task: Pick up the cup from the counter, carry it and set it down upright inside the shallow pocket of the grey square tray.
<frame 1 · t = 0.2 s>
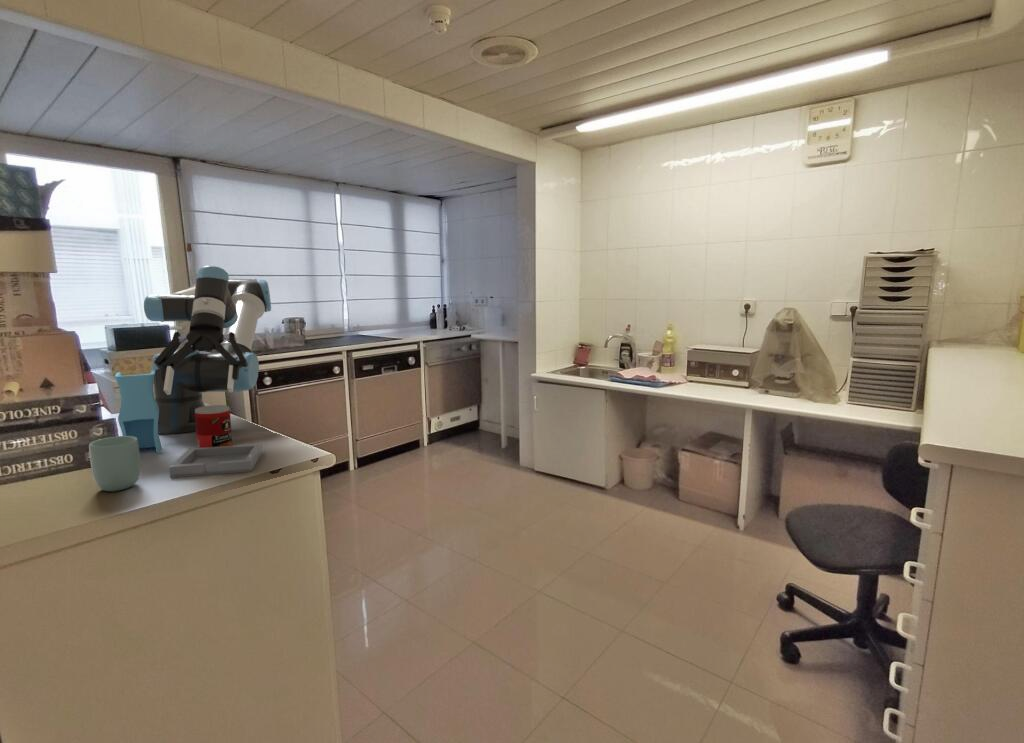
hand: (199, 391, 123), 16 cm above the table, tool tilted 35°, fingers open, 13 cm apart
blue wavy stand: (142, 451, 126), on the table
canned food: (215, 450, 129), on the table
cup: (118, 488, 102), on the table
grey square tray: (219, 464, 117), on the table
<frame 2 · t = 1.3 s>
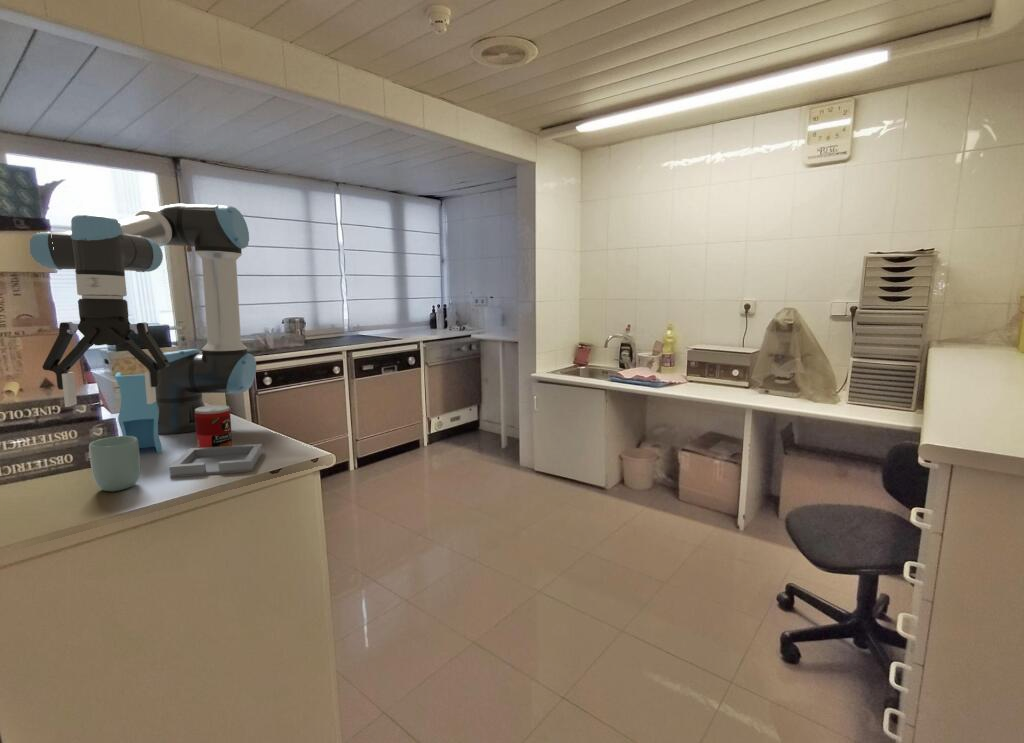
hand: (112, 404, 100), 18 cm above the table, tool pointing down, fingers open, 13 cm apart
nothing on the table moved.
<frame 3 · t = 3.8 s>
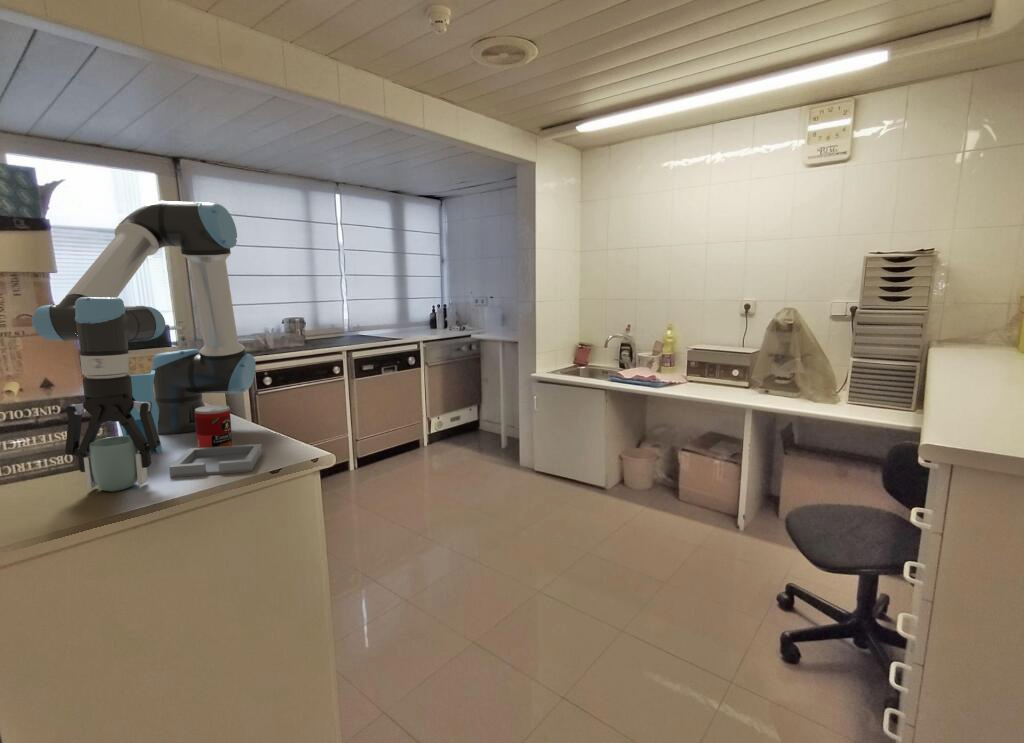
hand: (118, 484, 102), 1 cm above the table, tool pointing down, fingers closed on cup, 8 cm apart
cup: (118, 488, 102), on the table, touching gripper
everything else where it was.
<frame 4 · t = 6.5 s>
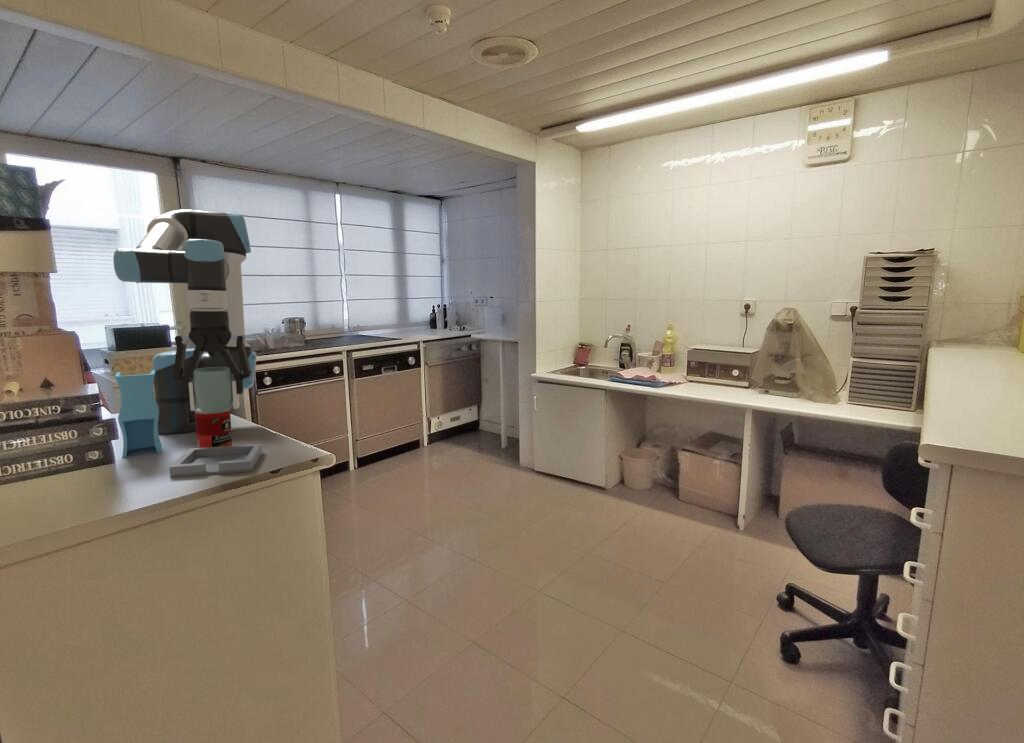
hand: (215, 408, 115), 14 cm above the table, tool pointing down, fingers closed on cup, 8 cm apart
cup: (216, 412, 116), point 13 cm above the table, touching gripper
everything else where it was.
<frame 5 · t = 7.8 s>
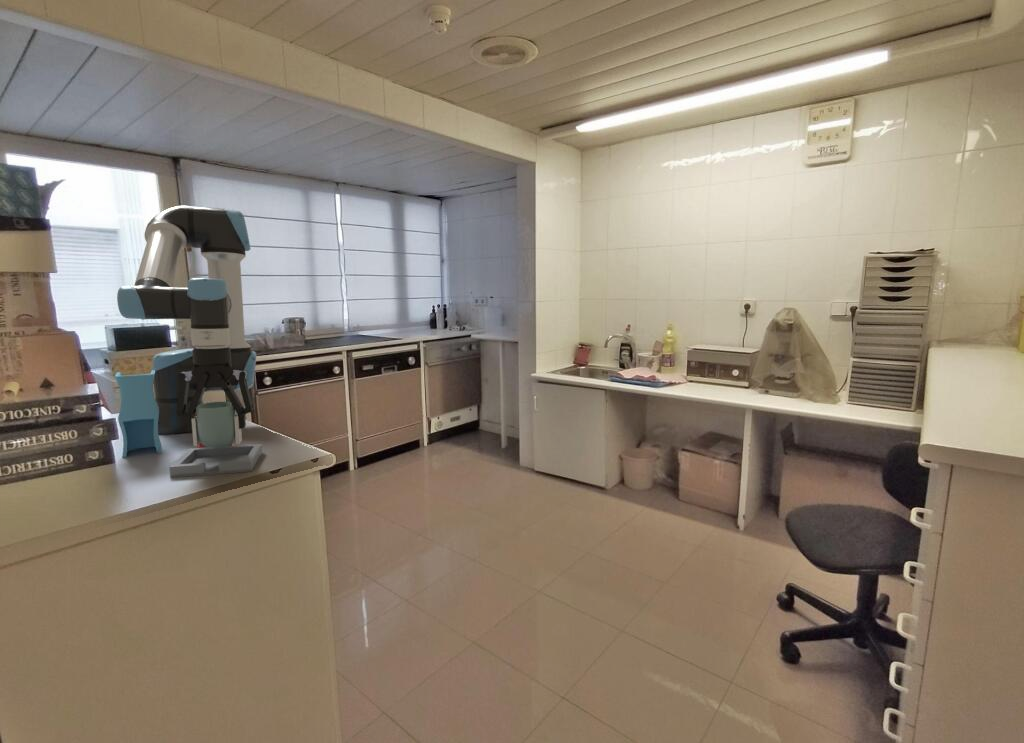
hand: (218, 443, 117), 5 cm above the table, tool pointing down, fingers closed on cup, 8 cm apart
cup: (218, 447, 117), point 4 cm above the table, touching gripper
everything else where it was.
when the fingers open (3 cm above the table, at t = 9.1 s): cup drops 2 cm, resting on grey square tray.
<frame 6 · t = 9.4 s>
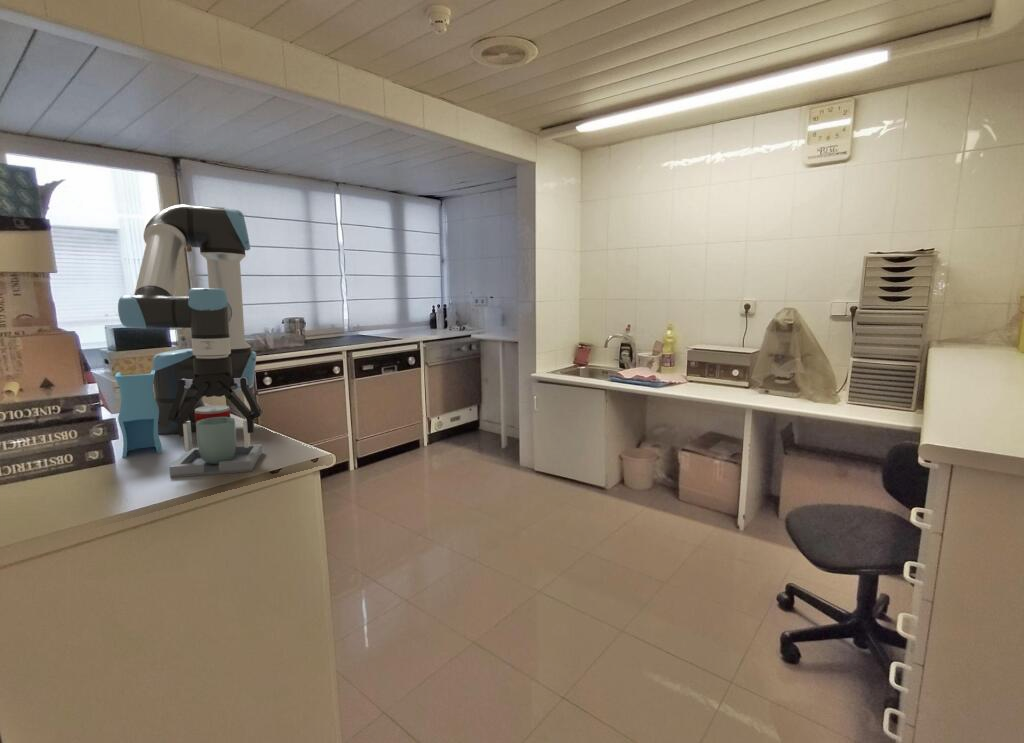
hand: (218, 448, 117), 4 cm above the table, tool pointing down, fingers open, 11 cm apart
cup: (218, 462, 117), resting on grey square tray
everything else where it was.
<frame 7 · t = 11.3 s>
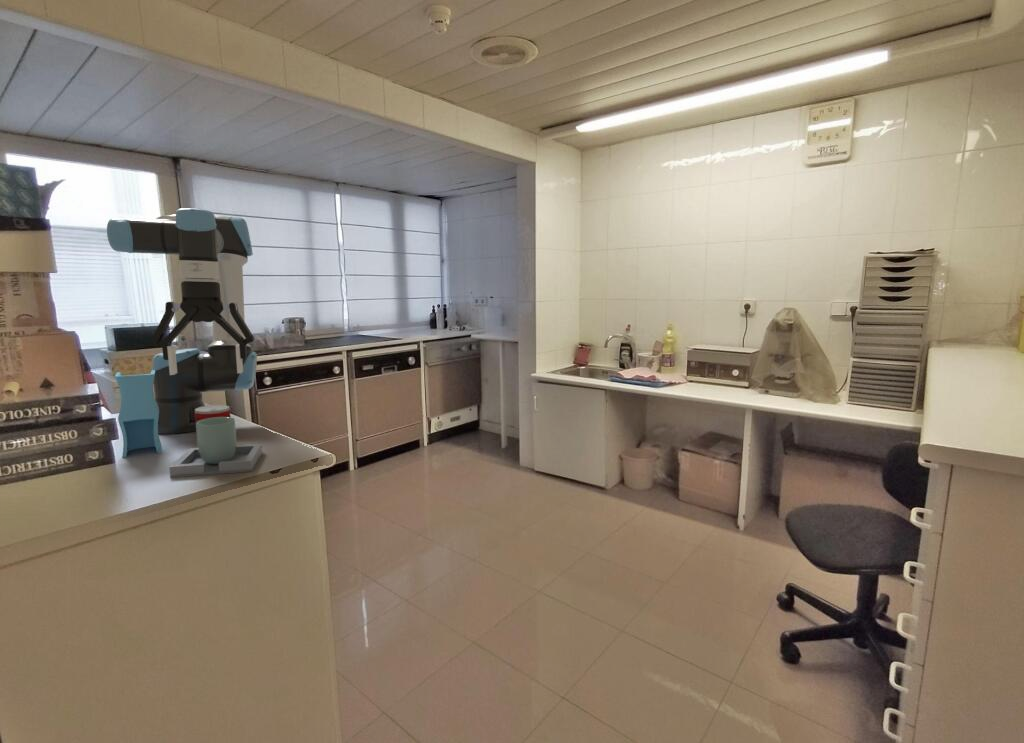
hand: (207, 373, 116), 22 cm above the table, tool pointing down, fingers open, 13 cm apart
nothing on the table moved.
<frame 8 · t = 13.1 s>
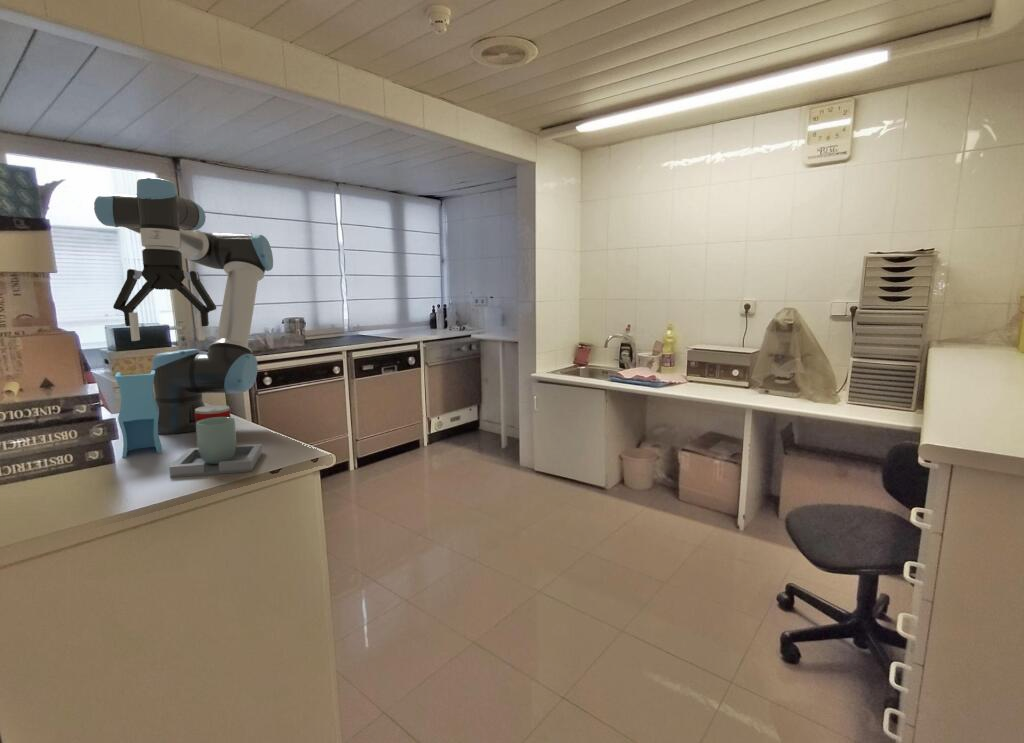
hand: (169, 340, 118), 29 cm above the table, tool pointing down, fingers open, 13 cm apart
nothing on the table moved.
at the end: cup inside the target area on the grey square tray (0.2 cm from its centre), point 0.4 cm above the grey square tray's base; cup tilted 0°; the gripper is holding nothing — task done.
